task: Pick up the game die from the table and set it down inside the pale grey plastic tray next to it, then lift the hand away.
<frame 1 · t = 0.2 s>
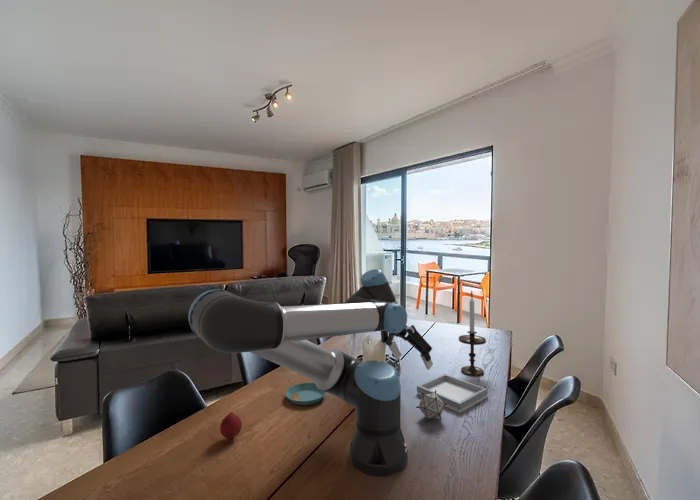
hand: (413, 361, 115), 15 cm above the table, tool tilted 30°, fingers open, 13 cm apart
tray: (451, 395, 122), on the table
onion: (231, 439, 97), on the table
saucer: (306, 398, 122), on the table
game die: (431, 418, 106), on the table
candlestick: (472, 372, 143), on the table
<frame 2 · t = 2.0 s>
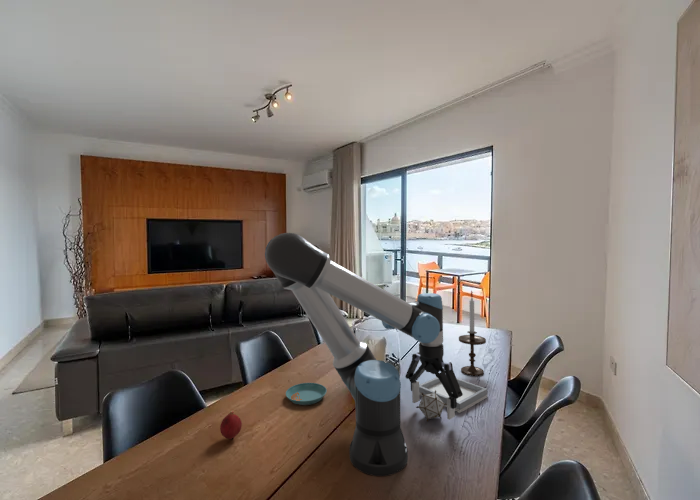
hand: (432, 409, 106), 3 cm above the table, tool pointing down, fingers open, 13 cm apart
nothing on the table moved.
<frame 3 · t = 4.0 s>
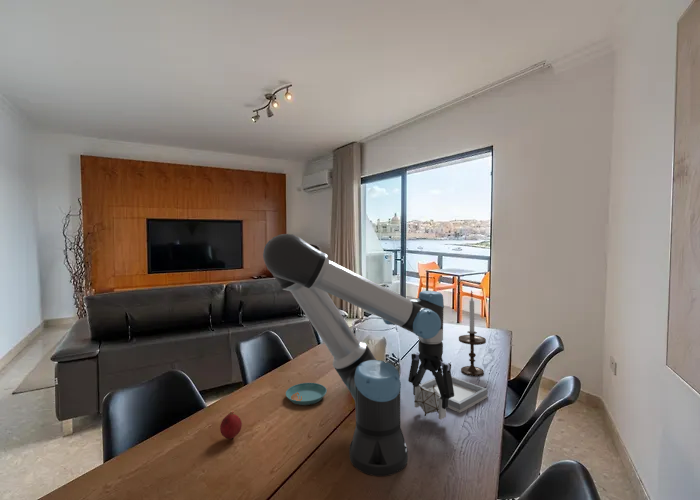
hand: (429, 411, 106), 2 cm above the table, tool pointing down, fingers closed on game die, 9 cm apart
game die: (429, 413, 106), point 2 cm above the table, touching gripper
everything else where it was.
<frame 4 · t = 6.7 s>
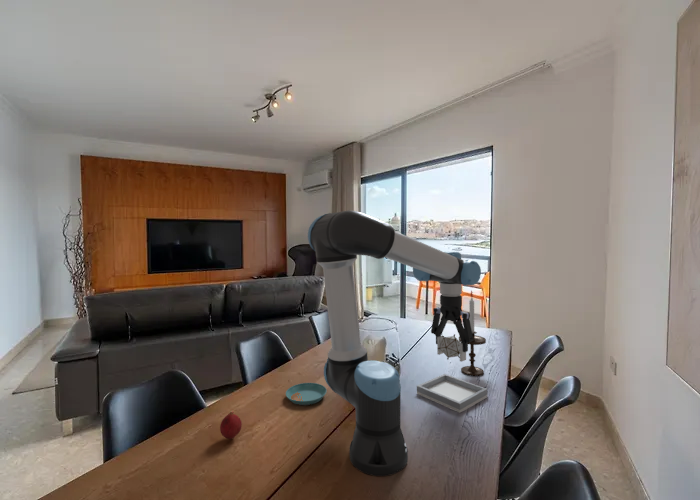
hand: (451, 356, 121), 14 cm above the table, tool pointing down, fingers closed on game die, 9 cm apart
game die: (451, 358, 121), point 14 cm above the table, touching gripper
everything else where it was.
when the fingers open (3 cm above the table, at t = 9.3 s): game die drops 2 cm, resting on tray.
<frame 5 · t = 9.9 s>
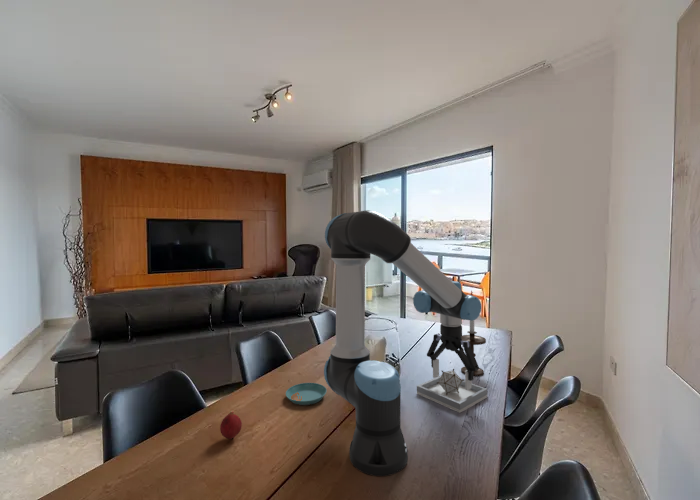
hand: (451, 382, 121), 5 cm above the table, tool pointing down, fingers open, 13 cm apart
game die: (450, 393, 122), point 1 cm above the table, touching tray
everything else where it was.
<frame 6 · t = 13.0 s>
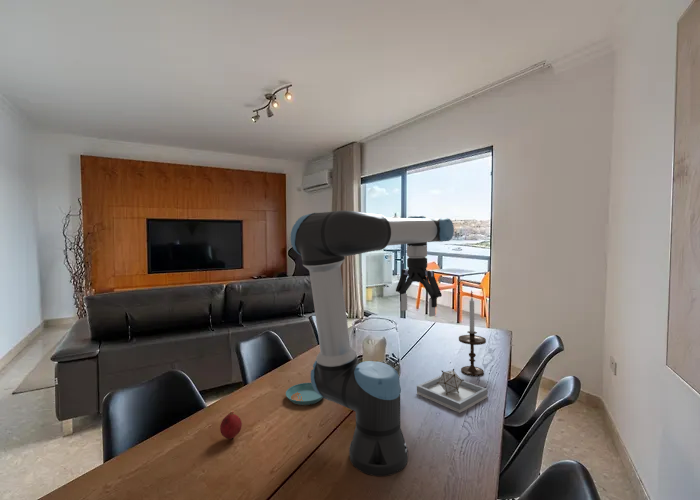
hand: (417, 313, 128), 29 cm above the table, tool pointing down, fingers open, 13 cm apart
nothing on the table moved.
at the end: game die inside the target area on the tray (0.4 cm from its centre), point 0.8 cm above the tray's base; the gripper is holding nothing; game die tilted 1° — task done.
